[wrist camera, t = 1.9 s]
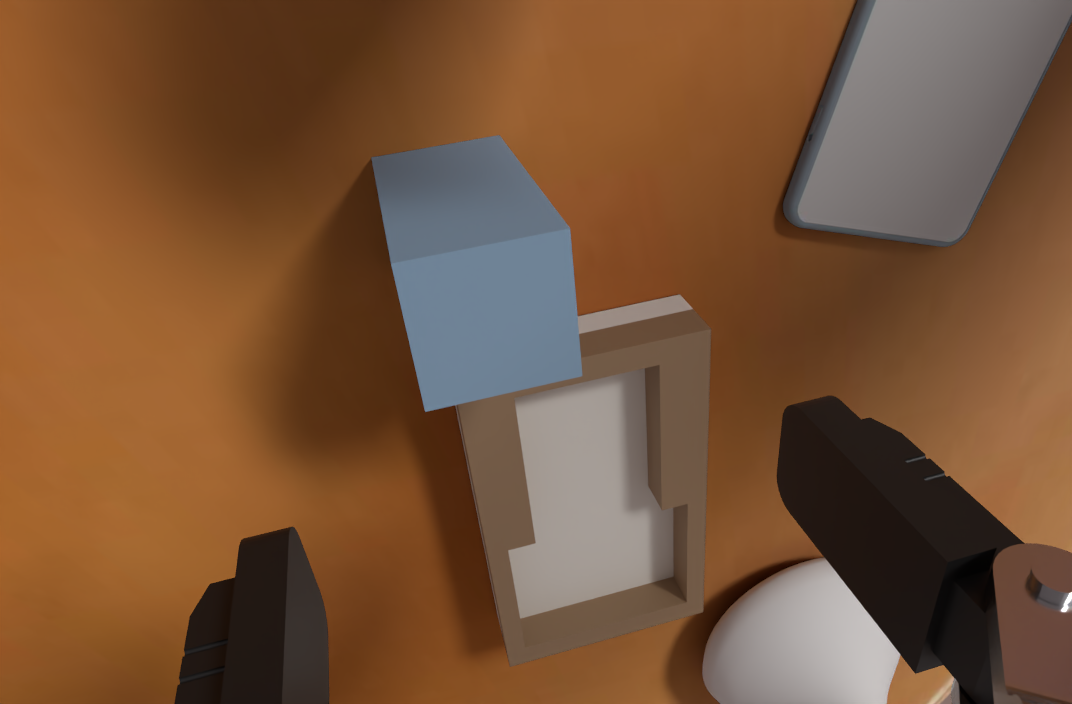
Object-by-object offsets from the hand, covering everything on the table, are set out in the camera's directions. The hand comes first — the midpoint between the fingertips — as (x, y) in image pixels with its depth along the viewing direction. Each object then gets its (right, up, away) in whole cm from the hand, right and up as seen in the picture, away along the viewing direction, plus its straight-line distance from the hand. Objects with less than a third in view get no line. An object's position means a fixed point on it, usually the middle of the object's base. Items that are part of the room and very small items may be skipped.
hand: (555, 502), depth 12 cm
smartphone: (+14, +14, +13) cm, 24 cm away
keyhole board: (+1, -3, +19) cm, 19 cm away
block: (-3, +7, +12) cm, 14 cm away
